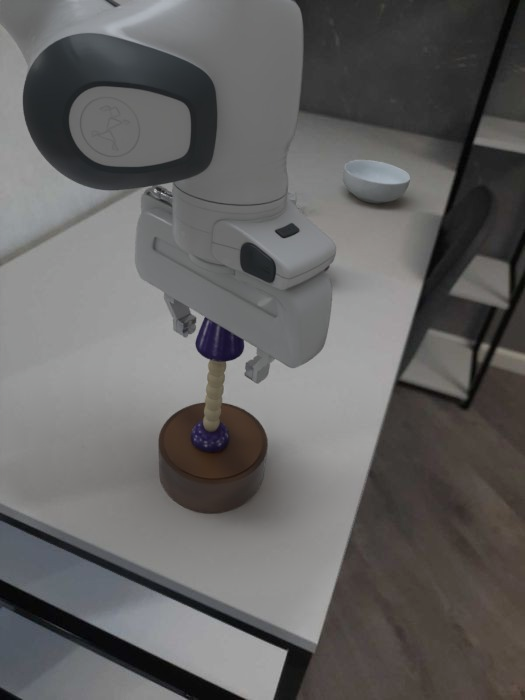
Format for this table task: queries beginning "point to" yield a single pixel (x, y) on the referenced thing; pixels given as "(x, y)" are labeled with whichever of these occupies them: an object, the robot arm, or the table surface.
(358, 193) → the cereal bowl
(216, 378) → the toy lamp
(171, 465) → the wooden drum
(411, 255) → the table surface
